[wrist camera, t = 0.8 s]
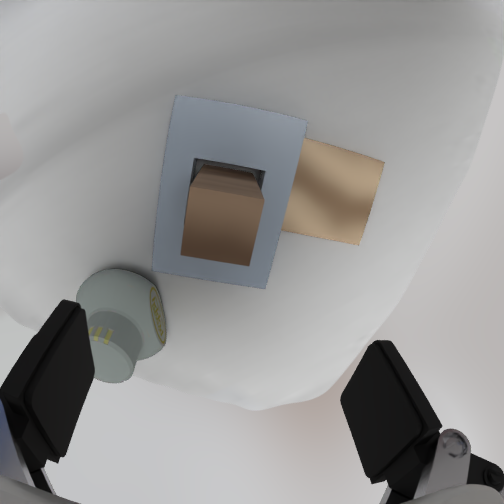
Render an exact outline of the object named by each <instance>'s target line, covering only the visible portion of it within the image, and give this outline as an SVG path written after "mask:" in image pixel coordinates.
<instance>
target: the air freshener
mask: <svg viewBox="0 0 504 504" xmlns="http://www.w3.org/2000/svg"><path fill="white" fill-rule="evenodd" d="M76 302H77V303H79V304H80V305H81V308H82V309H85V312H86V318H87V326H88V332H89V339H90V345H91V350H92V356H93V361H94V366H95V375H94V378H96V379H97V380H100V381H103V382H107V383H121V382H123V381H126V380H128V379H129V378H130V377H131V376H132V374H133V371H134V368H135V365H136V362H137V361H138V360H143V359H146V358H149V357H151V356H153V355H155V354H156V353H158V352H159V351H160V350H161V349H162V348H163V347H164V346H165V344H166V323H165V317H164V311H163V307H162V303H161V299H160V296H159V293H158V290H157V288H156V287H155V285H154V284H152V283H151V282H150V281H148V280H147V279H146V278H144V277H142V276H140V275H138V274H136V273H134V272H131V271H127V270H121V269H108V270H103V271H100V272H97V273H95V274H93V275H91V276H90V277H89V278H88V279H86V280H85V281H84V283H83V284H82V285H81V286H80V288H79V290H78V293H77V296H76Z"/></svg>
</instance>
